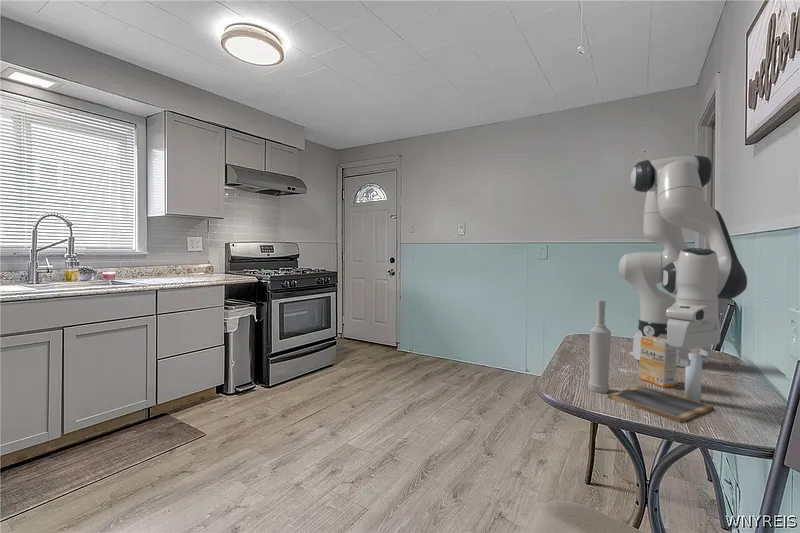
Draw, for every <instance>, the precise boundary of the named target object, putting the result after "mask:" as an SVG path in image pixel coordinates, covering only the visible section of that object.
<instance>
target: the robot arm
mask: <svg viewBox="0 0 800 533" xmlns="http://www.w3.org/2000/svg"><path fill="white" fill-rule="evenodd" d="M713 171H714V170H713V164H712V160H711V159H710V158H709V157H708V156H704V155H694V156H688V155H687V156H686V155H685V156H684V155H681V156H680V155H679V156H671V157H663V158H662V157H661V158H656V159H651V160H649V159H646V160H641V161H639V162H637V163H636V164H635V165H634V166H633V169H632V171H631V173H630V182H631V186H632V188H633V189H634V190H635V191H636V192H640V193H646V196H645V201H644V208H643V228H642V229H643V230H642V232H643V236H644V237H645V238H646V239H647V240H650V241H651V242H654V243H656V244H659V245H660V246H662V249H663V250H662V251H636V252H629V253H624V255H622V257H621V258H620V260H619V262H618V266H617V268H618V272H619V274H620V275H621V277H622V278H623V280H625V281H626V282H628V283H629V284H630V285H631V286H632V287H633V288H634V290H635V292H636V294H637V296H638V300H639V319H638V322H637V326H638V327H637V328H638V332H636V333H634V339H633V347H632V351H629V355H630V356H632V357H633V358H634V359H635V360H637V361H639V362H640V345H641V337H643V336H653V337H657V338H661V339H665V340H667V343H668V345H669V347H670V348H672V349H677V355H676V367H681V368H686V367H687V366H690V365H691V364H690V363H691V359H689V355H688V353H691V352H690V350H693V349H698V348H700V349H699V354H701V355H702V363H708V362H709V357H710V353H711V351H712V346H714V345H715V346H716V345H719V344H720V342H721V322H720V319H719V299H722V300H723V299H724V300H733V299H734V298H736V297H738V296H740V295H741V294H742V293H743V292H744V291H745V290H746V289H747V288H748V287H747V286H748V277H747V274H746V271H745V269H744V267H743V265H742V264H741V262H740V260H739V258H738V255H737V253H736V250H735V247H734V244H733V242H732V239H731V236H730V233H729V231H728V228H727V225H726V223H725V221H724V219H723V216H722V214H721V213H720V211H719V210H717V209H715V208H713V207H712V206H710V204H709V203H708V202H707V201H706V199H705V197H704V195H703V194H704V193H703V188H704V187H705V186H706V185H707V184H709V182H710V181H711V179H712V176H713V173H714V172H713ZM682 228H685V229H688V230H691V231H694V232H696V233H699V234H701V235H702V236H703V237H705V238H706V240H707V242H708V245H709V248H710V249H708V248H699V247H693V248H692V247H689V246H688V244H687V243H686V241H685V238H684V235H683V229H682ZM660 283H661V287H662V288H663V289H664V290H665V291H667V292H668V293H669V294H668V293H666V292H664V291H662V290H660V289H659V288H658V284H660ZM670 294H672V295H674V296H675V297H674V296H672V295H670Z"/></svg>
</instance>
